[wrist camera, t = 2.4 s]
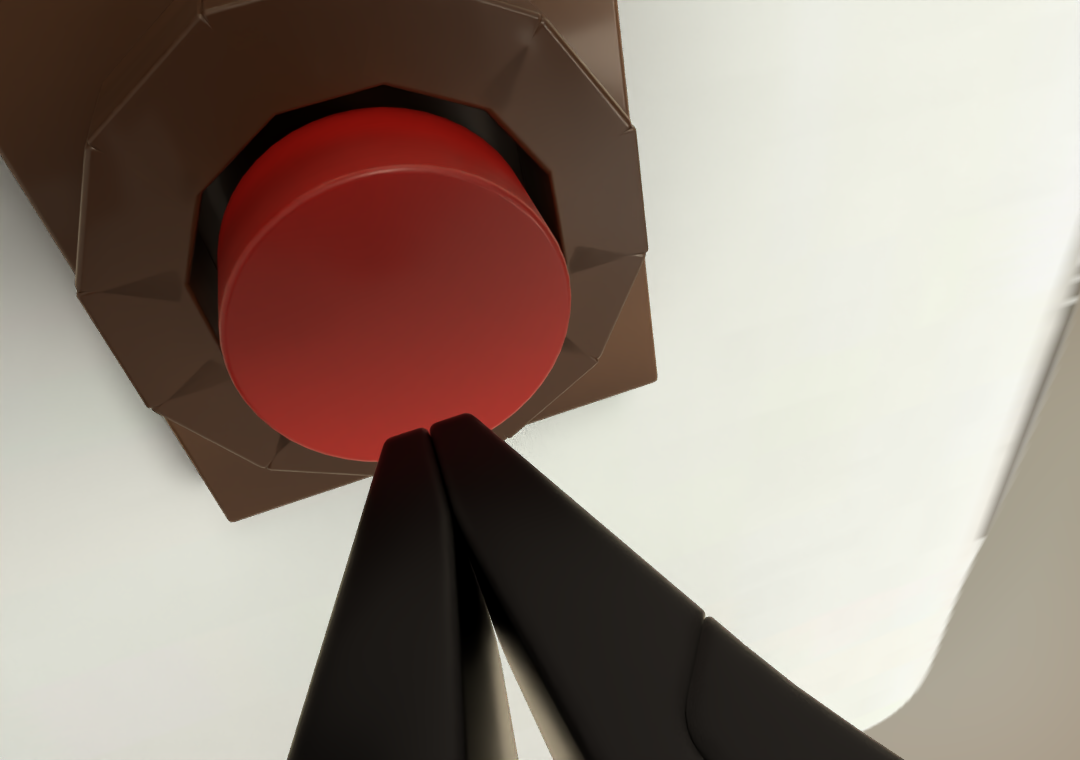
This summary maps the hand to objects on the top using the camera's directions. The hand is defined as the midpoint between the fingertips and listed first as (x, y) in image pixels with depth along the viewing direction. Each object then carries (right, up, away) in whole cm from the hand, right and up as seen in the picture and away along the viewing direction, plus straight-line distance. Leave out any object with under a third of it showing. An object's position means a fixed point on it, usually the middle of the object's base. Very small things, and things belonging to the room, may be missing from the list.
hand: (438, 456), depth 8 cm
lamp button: (-1, +2, +3) cm, 4 cm away
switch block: (-2, +4, +5) cm, 6 cm away
